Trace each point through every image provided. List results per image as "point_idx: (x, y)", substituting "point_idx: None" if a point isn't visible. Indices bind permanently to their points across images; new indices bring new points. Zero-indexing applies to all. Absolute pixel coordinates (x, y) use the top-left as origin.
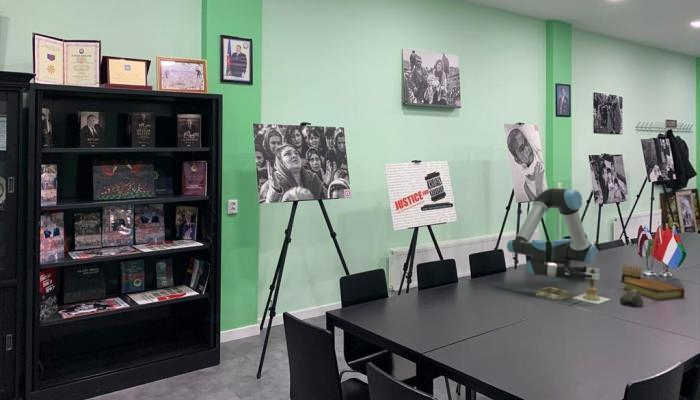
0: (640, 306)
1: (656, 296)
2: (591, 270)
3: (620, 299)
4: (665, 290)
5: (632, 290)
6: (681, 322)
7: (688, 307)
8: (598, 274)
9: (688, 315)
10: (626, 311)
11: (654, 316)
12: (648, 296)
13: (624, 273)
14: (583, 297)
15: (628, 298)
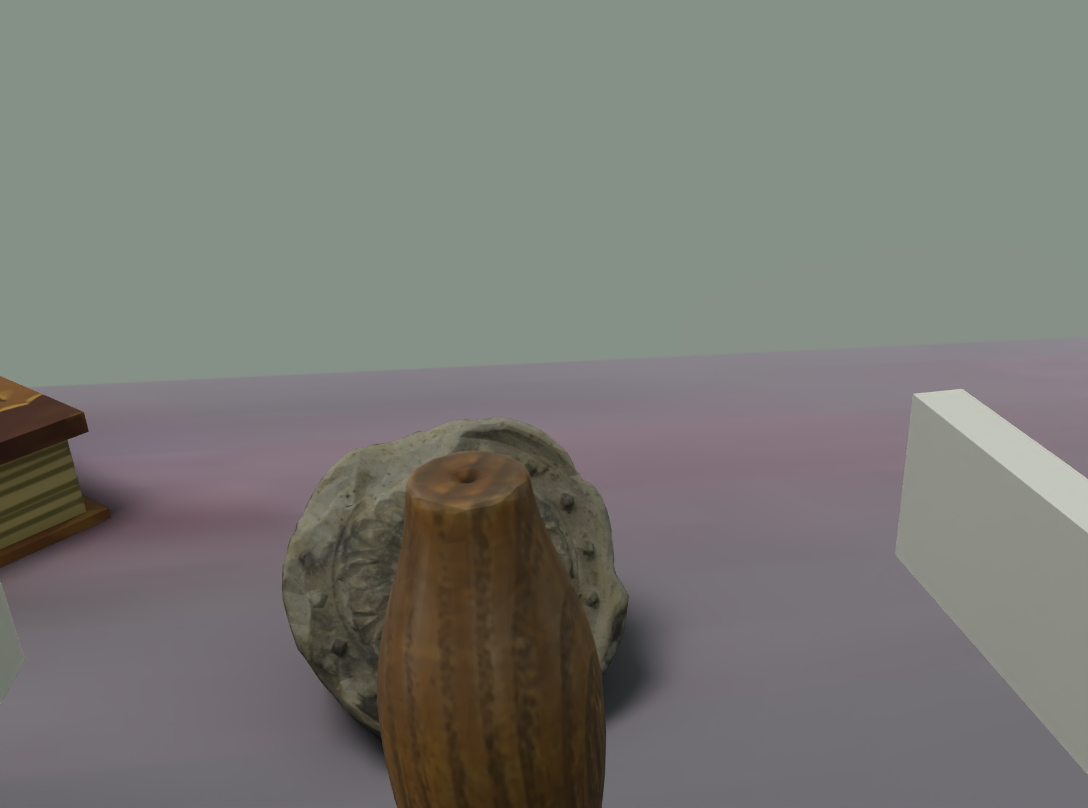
0: None
1: (68, 491)
2: (524, 564)
3: None
4: (25, 389)
5: (370, 484)
6: (849, 381)
7: (306, 390)
8: (961, 401)
9: (582, 376)
10: (932, 646)
11: (855, 477)
12: None
13: None
14: None
15: (581, 572)
